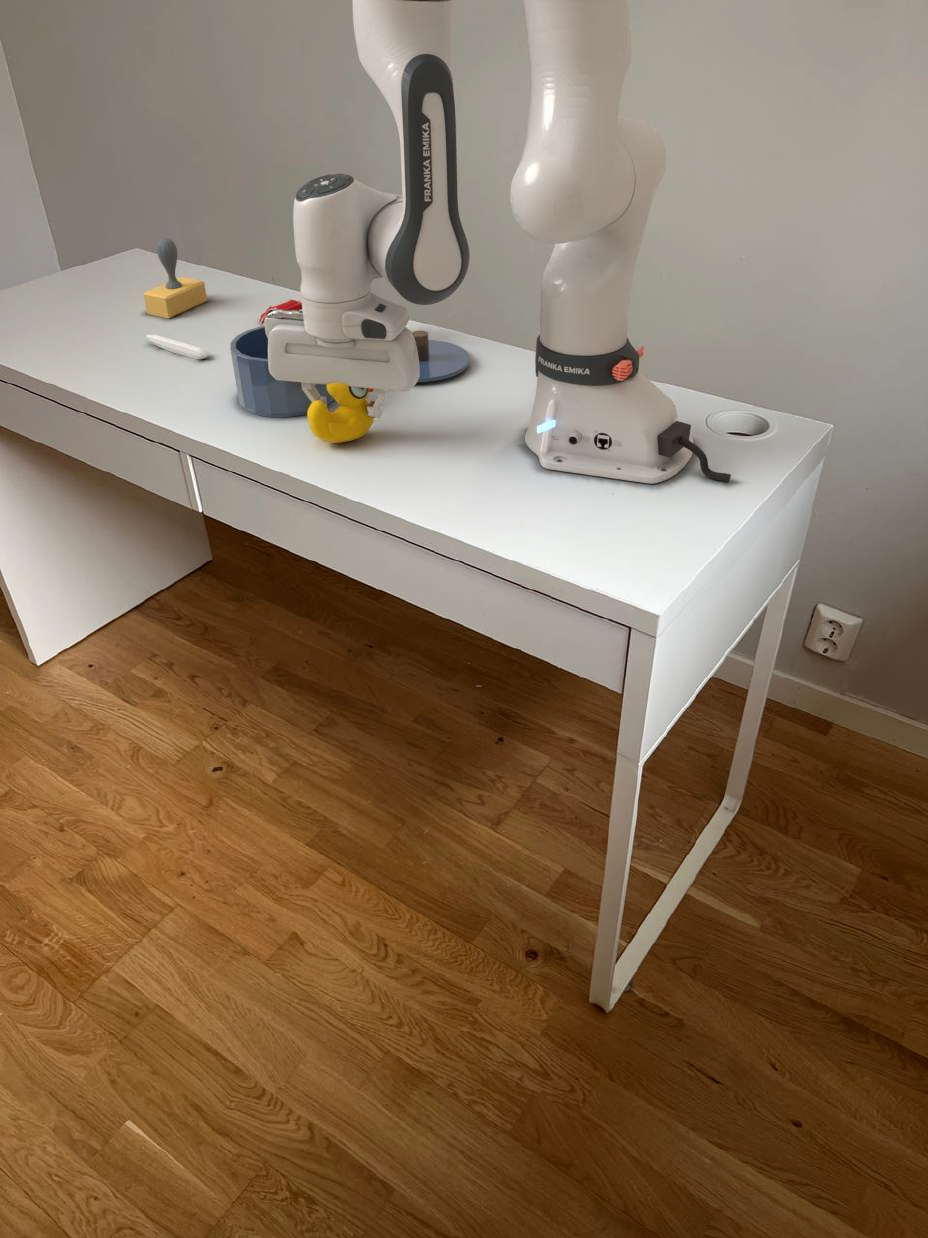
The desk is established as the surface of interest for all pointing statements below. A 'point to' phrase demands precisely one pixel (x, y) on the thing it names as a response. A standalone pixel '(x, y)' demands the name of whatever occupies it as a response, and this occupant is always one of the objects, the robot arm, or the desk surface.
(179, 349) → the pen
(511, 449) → the desk surface
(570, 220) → the robot arm
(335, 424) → the duckling
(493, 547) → the desk surface
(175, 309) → the rubber stamp
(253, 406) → the pot
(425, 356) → the lid
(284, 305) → the tracker holder
